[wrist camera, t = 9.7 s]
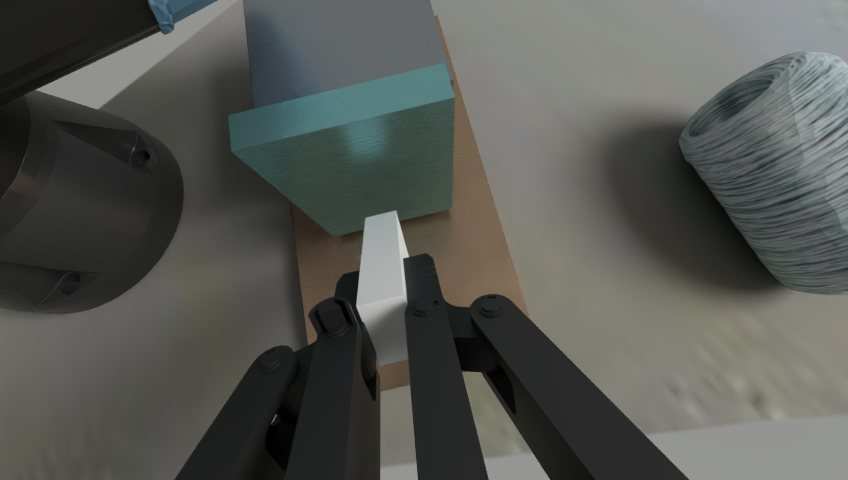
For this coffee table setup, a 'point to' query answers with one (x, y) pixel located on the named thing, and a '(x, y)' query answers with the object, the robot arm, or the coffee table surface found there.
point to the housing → (356, 63)
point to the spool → (782, 166)
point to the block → (357, 148)
